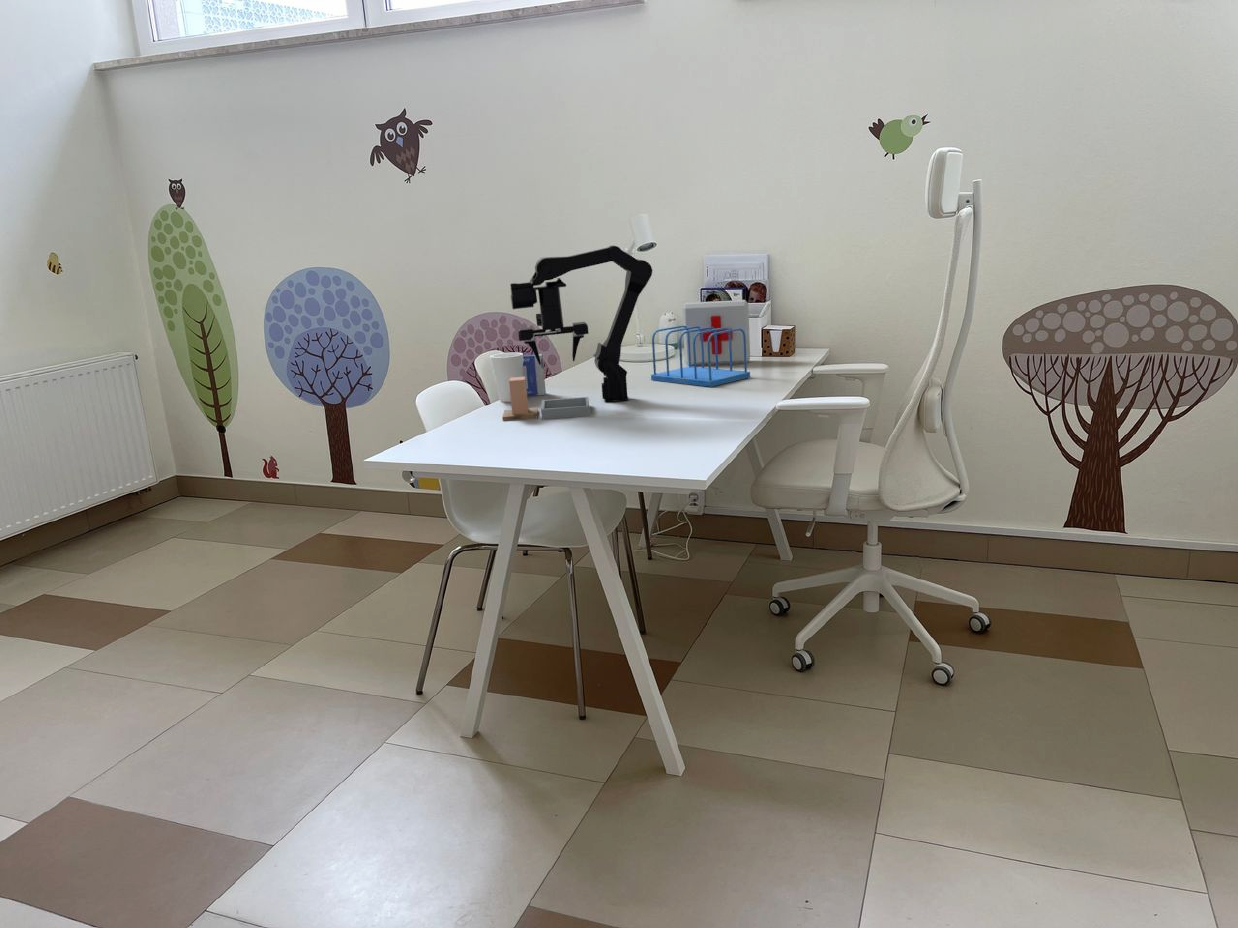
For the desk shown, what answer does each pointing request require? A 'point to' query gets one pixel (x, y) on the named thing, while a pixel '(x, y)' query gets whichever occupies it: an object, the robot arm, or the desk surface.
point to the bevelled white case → (717, 317)
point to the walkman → (534, 375)
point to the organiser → (565, 408)
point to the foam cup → (506, 371)
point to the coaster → (531, 414)
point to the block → (518, 395)
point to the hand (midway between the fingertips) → (556, 362)
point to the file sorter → (700, 373)
